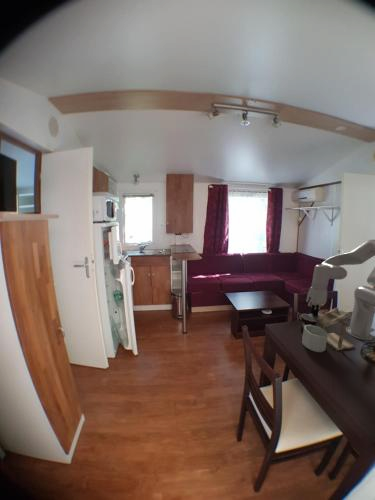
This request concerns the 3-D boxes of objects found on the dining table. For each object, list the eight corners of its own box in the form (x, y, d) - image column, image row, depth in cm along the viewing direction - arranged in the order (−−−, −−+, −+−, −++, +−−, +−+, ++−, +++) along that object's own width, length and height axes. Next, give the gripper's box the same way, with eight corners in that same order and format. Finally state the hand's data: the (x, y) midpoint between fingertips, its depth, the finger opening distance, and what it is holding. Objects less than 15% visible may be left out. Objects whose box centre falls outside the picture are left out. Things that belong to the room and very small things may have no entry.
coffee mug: (317, 336, 114) (320, 322, 112) (302, 334, 116) (304, 320, 114) (309, 326, 126) (311, 312, 124) (295, 324, 127) (297, 310, 125)
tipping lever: (331, 309, 117) (329, 301, 116) (354, 322, 104) (353, 312, 102) (308, 321, 115) (307, 312, 113) (330, 335, 102) (328, 325, 100)
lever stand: (332, 333, 118) (337, 309, 115) (355, 348, 105) (361, 321, 102) (317, 336, 115) (321, 311, 112) (338, 351, 102) (343, 323, 99)
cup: (312, 338, 113) (315, 323, 111) (329, 350, 103) (332, 335, 101) (297, 340, 111) (299, 325, 109) (313, 353, 100) (316, 337, 98)
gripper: (323, 283, 114) (318, 310, 117) (303, 284, 110) (298, 312, 114) (335, 287, 106) (330, 316, 110) (314, 289, 103) (309, 319, 107)
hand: (314, 314), depth 112 cm, fingers closed
